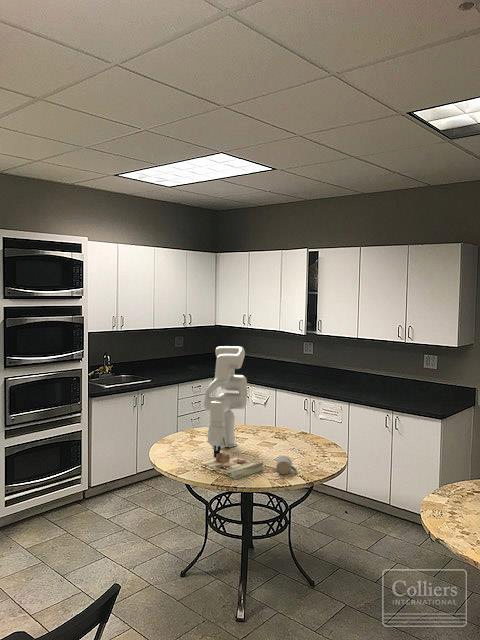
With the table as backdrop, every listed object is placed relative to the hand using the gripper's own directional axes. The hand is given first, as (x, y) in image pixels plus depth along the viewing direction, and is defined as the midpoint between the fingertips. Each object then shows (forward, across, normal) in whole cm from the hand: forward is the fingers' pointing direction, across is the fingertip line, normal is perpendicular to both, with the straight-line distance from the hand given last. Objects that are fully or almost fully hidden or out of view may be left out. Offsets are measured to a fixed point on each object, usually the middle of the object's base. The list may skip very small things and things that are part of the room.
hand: (216, 457), depth 286 cm
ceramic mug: (+4, +35, +16) cm, 39 cm away
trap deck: (+3, +11, 0) cm, 12 cm away
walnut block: (+1, +5, 0) cm, 5 cm away
